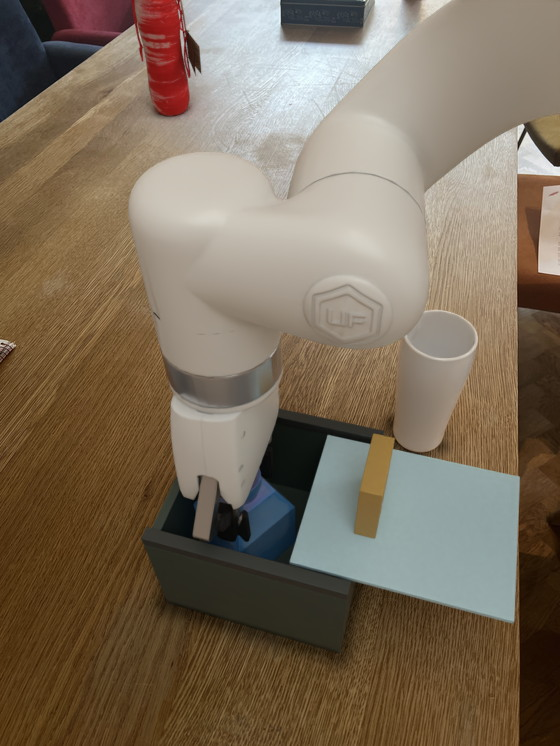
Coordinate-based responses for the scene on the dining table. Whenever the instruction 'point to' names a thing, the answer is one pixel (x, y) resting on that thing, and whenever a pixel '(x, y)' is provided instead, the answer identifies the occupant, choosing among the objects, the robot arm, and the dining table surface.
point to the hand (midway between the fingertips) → (243, 501)
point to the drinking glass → (431, 377)
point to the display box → (251, 573)
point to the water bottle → (166, 53)
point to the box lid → (413, 526)
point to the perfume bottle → (264, 522)
